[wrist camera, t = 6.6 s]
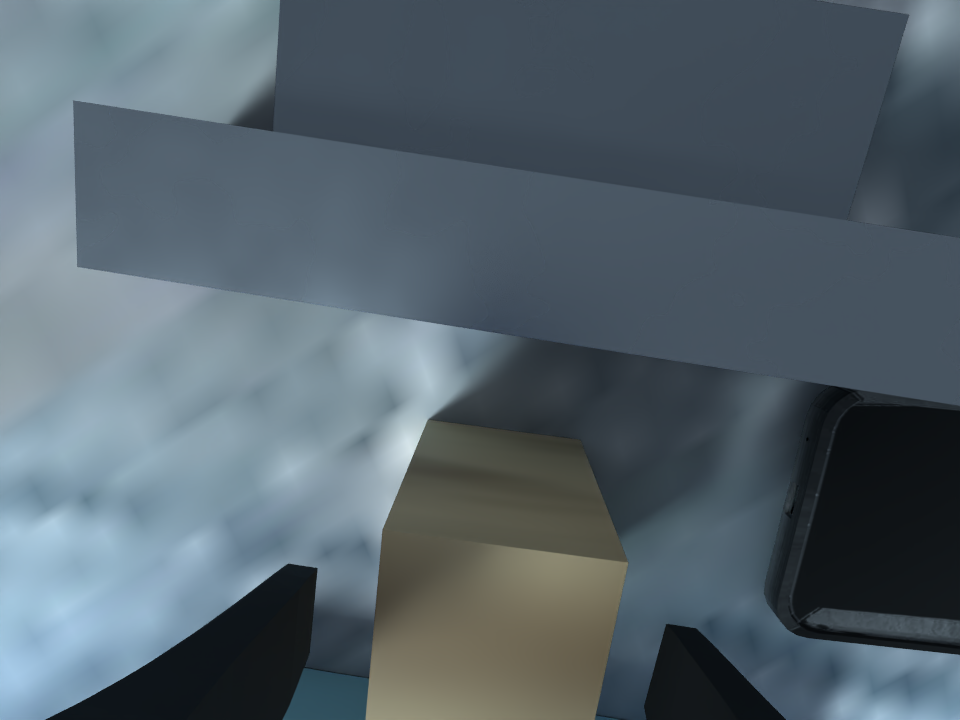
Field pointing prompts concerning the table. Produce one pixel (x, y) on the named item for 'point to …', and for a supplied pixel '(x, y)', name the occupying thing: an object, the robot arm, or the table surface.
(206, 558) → the table surface
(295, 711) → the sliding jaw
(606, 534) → the oak block
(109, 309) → the table surface
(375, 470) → the table surface
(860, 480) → the phone
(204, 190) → the vise
